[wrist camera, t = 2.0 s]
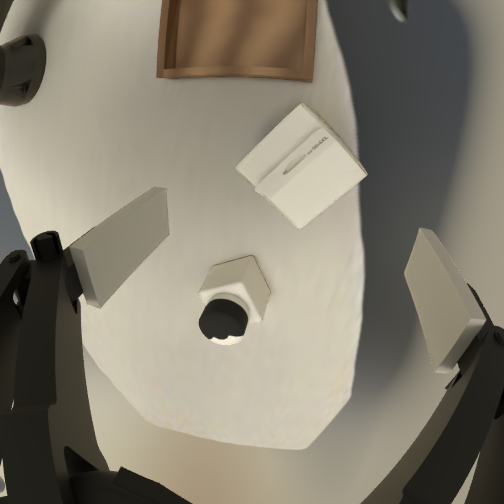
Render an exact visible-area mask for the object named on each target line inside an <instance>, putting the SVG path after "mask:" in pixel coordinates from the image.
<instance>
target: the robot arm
mask: <svg viewBox="0 0 504 504" xmlns="http://www.w3.org/2000/svg"><path fill="white" fill-rule="evenodd" d="M13 1H14V0H0V32H1V29H2V27H3V24H4V22H5V19H6V17H7V14H8V12H9V10H10V7H11V5H12V3H13ZM45 60H46V53H45V46H44V43H43V40H42V39H41V38H40V37H39V36H38V35H24V36H21V37H19V38H16V39H14V40H12V41H9V42H7V43H5V44H3V45H0V105H7V106H19V105H23V104H26V103H28V102H29V101H30V100H31V99H32V98H33V97H34V95H35V94H36V92H37V90H38V88H39V86H40V83H41V80H42V77H43V73H44V68H45ZM168 235H169V223H168V209H167V192H166V188H157V187H154V188H152V189H150V190H149V191H147V192H146V193H144V194H143V195H141V196H140V197H138V198H136V199H135V200H133V201H132V202H130V203H129V204H127V205H126V206H124V207H123V208H122V209H120V210H119V211H117V212H116V213H114V214H113V215H111V216H110V217H109V218H107V219H106V220H104V221H103V222H101V223H100V224H99V225H97V226H96V227H93V228H92V229H91V230H89V231H88V232H87V233H86V234H84V235H83V236H81V238H79V239H77V240H76V241H75V242H73V243H72V244H71V245H70V246H68V247H67V248H66V249H64V250H63V249H62V245H61V241H60V238H59V234H58V232H56V231H46V232H43V233H41V234H39V235H37V236H35V237H34V238H33V239H32V240H31V242H30V243H31V247H32V250H33V253H34V256H35V259H36V260H29V259H28V256H27V253H26V251H25V250H15V251H14V252H11V253H10V254H9V255H7V256H6V258H5V259H4V260H3V261H2V263H1V264H0V465H1V460H2V458H3V467H4V477H5V483H4V481H3V479H2V478H1V477H0V492H3V491H4V488H5V484H6V490H7V496H4V497H0V504H192V503H190V502H188V501H187V500H185V499H184V498H182V497H180V496H179V495H177V494H175V493H174V492H172V491H170V490H169V489H167V488H166V487H164V486H163V485H161V484H160V483H157V482H155V481H153V480H150V479H147V478H145V477H143V476H140V475H138V474H136V473H134V472H132V471H130V470H127V469H125V468H123V467H121V468H120V469H119V471H118V472H115V471H110V470H109V468H108V465H107V463H106V460H105V458H104V456H103V455H102V453H101V452H100V449H99V447H98V444H97V441H96V437H95V432H94V427H93V422H92V417H91V411H90V406H89V400H88V394H87V386H86V378H85V370H84V360H83V349H82V333H81V305H80V301H79V299H78V297H79V296H80V295H81V294H82V293H83V294H84V297H85V299H86V302H87V304H89V305H91V306H94V307H97V308H101V307H102V306H103V305H104V304H105V303H106V302H107V300H108V299H109V298H110V297H111V296H112V295H113V294H114V293H115V291H116V290H117V289H118V288H119V287H120V286H121V285H122V284H123V283H124V282H125V280H126V279H127V278H128V277H129V276H130V275H131V274H132V273H133V272H134V271H135V270H136V269H137V267H138V266H139V265H140V264H141V263H142V262H143V261H144V260H145V259H146V258H147V257H148V256H149V255H150V254H151V253H152V252H153V251H154V250H155V249H156V248H157V247H158V246H159V245H160V244H161V242H162V241H163V240H164V239H165V238H166V237H167V236H168ZM404 275H405V278H406V281H407V284H408V286H409V289H410V292H411V295H412V298H413V301H414V304H415V307H416V310H417V313H418V316H419V319H420V323H421V326H422V329H423V333H424V336H425V340H426V343H427V347H428V351H429V354H430V358H431V362H432V367H433V371H434V373H450V371H451V370H452V369H453V367H454V366H455V365H456V364H457V363H458V366H459V369H460V371H459V372H458V373H457V374H456V376H455V377H454V378H453V379H452V380H451V382H450V383H449V384H448V385H447V386H446V387H445V388H446V389H448V390H447V392H446V393H445V395H444V397H443V398H442V400H441V402H440V404H439V405H438V407H437V408H436V410H435V412H434V413H433V415H432V416H431V418H430V419H429V421H428V422H427V424H426V426H425V427H424V428H423V430H422V431H421V433H420V434H419V436H418V437H417V438H416V440H415V441H414V442H413V444H412V445H411V447H410V448H409V449H408V450H407V452H406V453H405V454H404V456H403V457H402V458H401V460H400V461H399V462H398V463H397V464H396V466H395V467H394V468H393V469H392V470H391V471H390V473H389V474H388V475H387V476H386V477H385V478H384V480H383V481H382V482H381V483H380V484H379V485H378V486H377V487H376V488H375V489H374V490H373V492H371V494H370V495H369V496H368V497H367V498H366V499H365V500H364V501H363V502H362V503H361V504H451V503H452V502H453V500H454V498H455V497H456V495H457V494H458V492H459V490H460V488H461V487H462V485H463V483H464V481H465V480H466V478H467V476H468V474H469V472H470V470H471V468H472V466H473V465H474V463H475V461H476V458H477V456H478V454H479V452H480V454H479V458H478V462H477V466H476V470H475V473H474V476H473V480H472V483H471V486H470V489H469V493H468V495H467V498H466V501H465V503H464V504H504V329H503V328H501V327H499V326H494V325H493V323H492V321H491V319H490V317H489V315H488V313H487V311H486V309H485V308H484V307H483V304H482V302H481V301H480V298H479V297H478V295H477V293H476V291H475V290H474V289H473V288H472V287H471V286H470V285H469V284H468V283H466V281H465V280H464V278H463V276H462V275H461V273H460V271H459V270H458V268H457V267H456V265H455V263H454V262H453V260H452V259H451V257H450V256H449V254H448V252H446V249H445V248H444V247H443V245H442V244H441V242H440V241H439V239H438V238H437V236H436V235H435V233H434V232H433V231H432V230H428V229H424V228H420V229H419V232H418V235H417V238H416V241H415V244H414V247H413V250H412V253H411V256H410V258H409V261H408V264H407V267H406V269H405V272H404ZM14 292H15V295H16V297H17V299H18V303H17V304H15V303H14V301H13V294H14ZM13 399H14V405H13V408H12V404H13ZM11 408H12V410H11Z"/></svg>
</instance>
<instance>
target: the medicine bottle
mask: <svg viewBox="0 0 504 504" xmlns="http://www.w3.org/2000/svg"><path fill="white" fill-rule="evenodd" d="M198 294H199V296H200V298H201V299H202V301H203V303H204V304H205V306H206V307H205V309H204V311H203V313H202V315H201V317H200V319H199V327H200V329H201V331H202V333H203V334H204V335H205V336H206V337H207V338H208V339H209V340H211V341H213V342H215V343H217V344H221V345H233V344H236V343H238V342H239V341H241V340H242V338H243V336H244V333H245V330H246V327H247V324H252V323H258V322H262V320H263V317H264V313H265V310H266V306H267V302H268V298H269V295H270V290H269V288H268V286H267V284H266V281H265V279H264V277H263V275H262V273H261V271H260V269H259V267H258V265H257V263H256V260H255V258H254V257H253V256H248V257H245V258H241V259H237V260H234V261H230V262H226V263H223V264H219V265H215V266H213V268H212V269H211V271H210V273H209V274H208V276H207V278H206V279H205V281H204V283H203V285H202V286H201V288H200V290H199V291H198Z"/></svg>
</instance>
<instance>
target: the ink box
mask: <svg viewBox="0 0 504 504" xmlns="http://www.w3.org/2000/svg"><path fill="white" fill-rule="evenodd" d="M235 170H236V171H237V172H238V173H239V174H241V175H242V176H243V177H244V178H245V179H246V180H247V181H248V182H249V183H250V184H251V185H252V186H253V187H254V188H255V192H257V193H259V194H262V195H263V196H264V197H265V198H266V199H267V200H268V201H269V202H270V203H271V204H272V205H273V206H274V207H275V208H276V209H277V210H278V211H279V212H280V213H281V214H282V215H283V216H284V217H285V218H286V219H287V220H288V221H289V222H291V223H292V224H293V225H294V226H295V227H296V228H297V229H301V228H302V227H304V226H305V225H306V224H307V223H309V222H310V221H311V220H312V219H314V218H315V217H316V216H318V215H319V214H320V213H321V212H322V211H324V210H325V209H326V208H327V207H329V206H330V205H331V204H332V203H334V202H335V201H336V200H337V199H339V198H340V197H341V196H342V195H344V194H345V193H346V192H347V191H349V190H350V189H351V188H352V187H353V186H355V185H356V184H357V183H358V182H360V181H361V180H362V179H363V178H364V177H365V176H366V175H367V173H366V171H365V169H364V168H363V166H362V165H361V163H360V162H359V160H358V159H357V157H356V156H355V155H354V153H353V152H352V151H351V149H350V148H349V147H348V146H347V145H346V144H345V143H344V142H343V141H342V139H341V138H340V137H339V136H338V135H337V134H336V133H335V132H334V131H333V130H332V129H331V128H330V127H329V126H328V125H327V124H326V123H325V122H324V121H323V120H322V119H321V118H320V117H319V116H318V115H317V114H316V113H315V112H314V111H313V110H312V109H311V108H310V107H309V106H308V105H307V104H304V103H301V104H299V105H298V106H297V107H296V108H295V109H293V110H292V111H291V112H290V113H289V114H288V115H287V116H286V117H285V118H284V119H283V120H282V121H281V122H280V123H279V124H277V125H276V126H275V127H274V128H273V129H272V130H271V131H270V132H269V133H268V134H267V135H266V136H265V137H264V138H263V139H262V140H261V141H260V142H259V143H258V144H257V145H256V146H255V147H254V148H253V149H252V150H251V151H250V152H249V153H248V154H247V155H246V156H245V157H244V158H243V159H242V160H241V161H240V162H239V164H238V165H237V166H236V167H235Z"/></svg>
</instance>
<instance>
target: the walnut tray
mask: <svg viewBox="0 0 504 504" xmlns="http://www.w3.org/2000/svg"><path fill="white" fill-rule="evenodd" d="M317 2H318V0H162V8H161V17H160V28H159V40H158V56H157V78H168V79H174V78H190V77H258V78H274V79H286V80H296V81H305V82H312V78H313V66H314V53H315V38H316V22H317Z"/></svg>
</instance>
